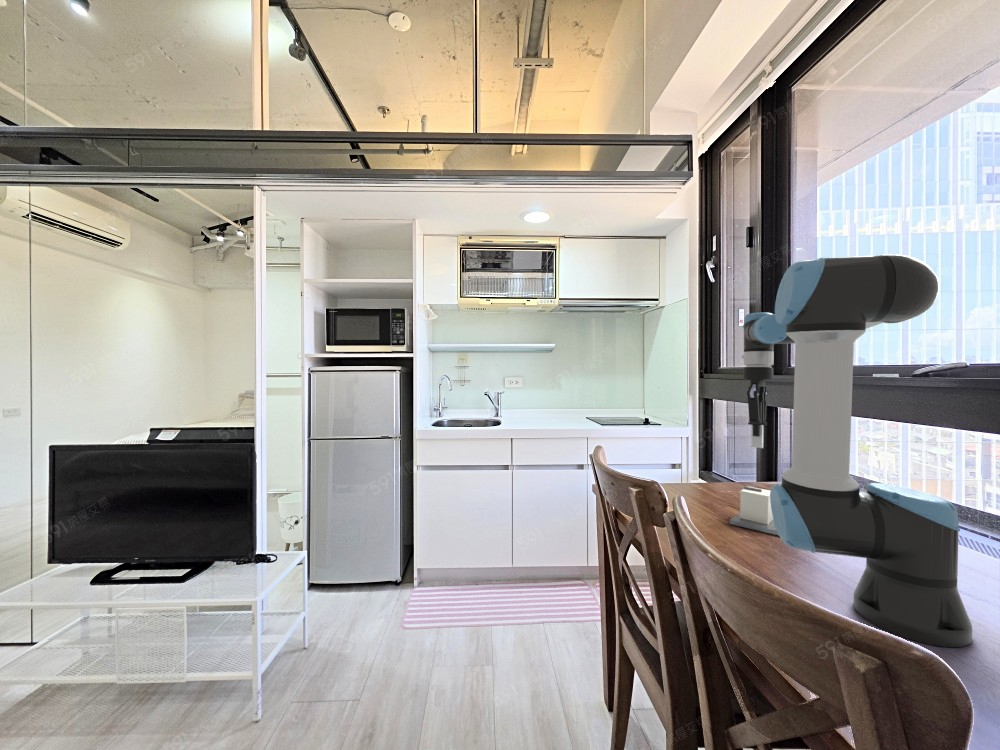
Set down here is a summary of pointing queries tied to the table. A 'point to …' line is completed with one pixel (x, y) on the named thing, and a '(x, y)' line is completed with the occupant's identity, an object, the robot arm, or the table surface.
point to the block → (755, 505)
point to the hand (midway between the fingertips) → (757, 447)
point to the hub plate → (754, 525)
